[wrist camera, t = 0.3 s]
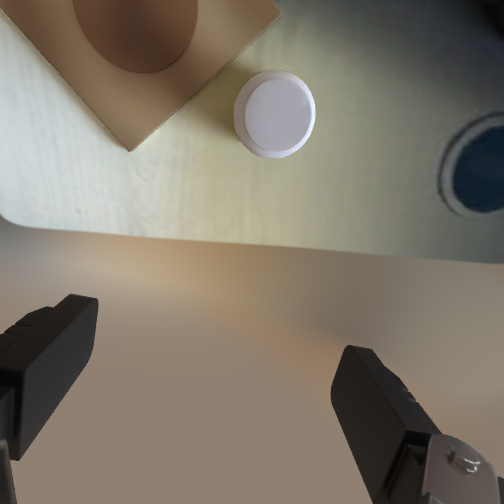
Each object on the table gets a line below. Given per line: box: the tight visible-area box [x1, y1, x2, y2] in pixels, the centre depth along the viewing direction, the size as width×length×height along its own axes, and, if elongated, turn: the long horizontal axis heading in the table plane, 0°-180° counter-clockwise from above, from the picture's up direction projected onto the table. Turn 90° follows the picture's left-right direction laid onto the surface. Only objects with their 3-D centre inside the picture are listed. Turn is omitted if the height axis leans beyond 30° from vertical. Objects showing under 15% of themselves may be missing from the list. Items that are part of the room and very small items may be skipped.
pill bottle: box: [233, 70, 315, 159], centre depth 23 cm, size 5×5×10 cm
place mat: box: [0, 0, 281, 152], centre depth 24 cm, size 16×14×1 cm
